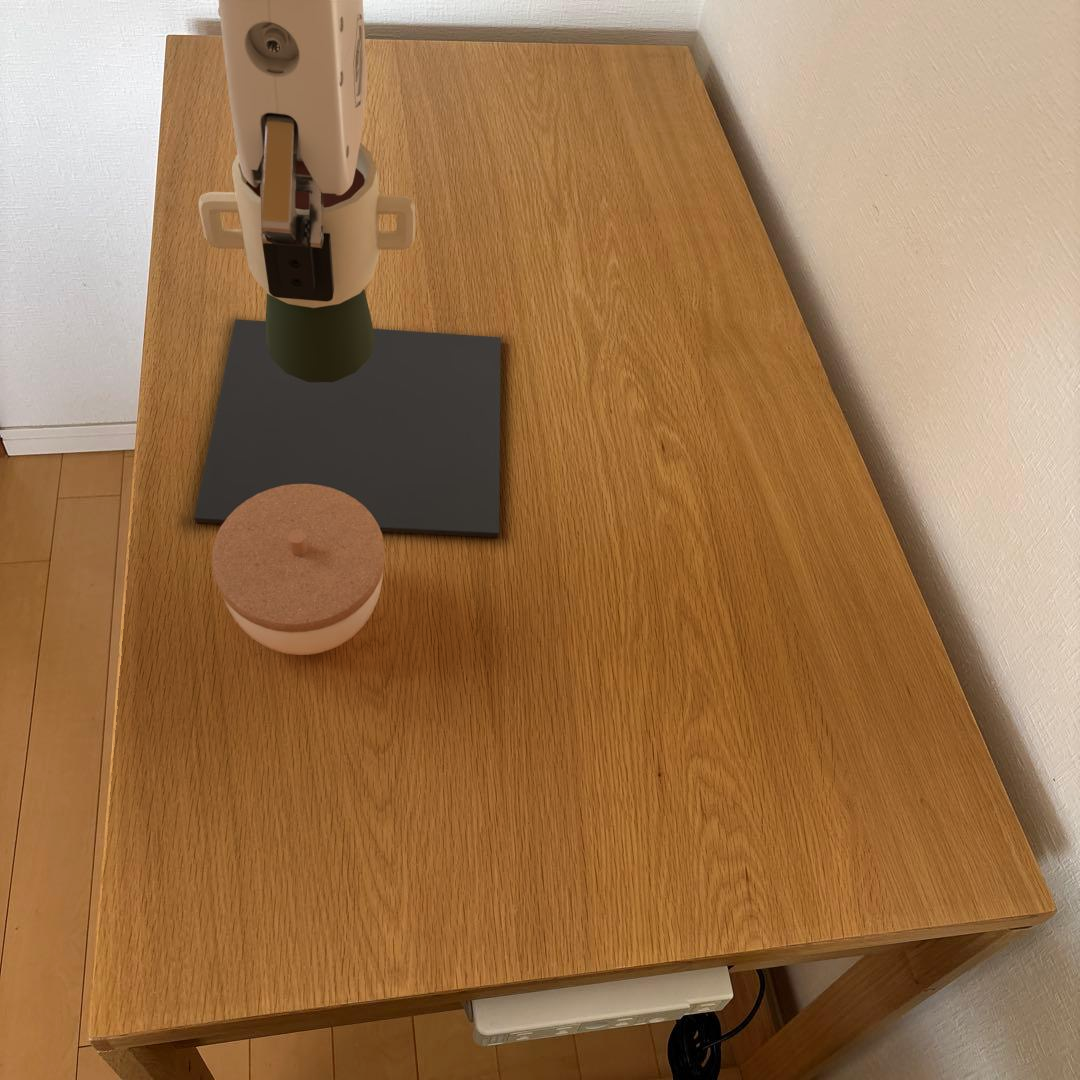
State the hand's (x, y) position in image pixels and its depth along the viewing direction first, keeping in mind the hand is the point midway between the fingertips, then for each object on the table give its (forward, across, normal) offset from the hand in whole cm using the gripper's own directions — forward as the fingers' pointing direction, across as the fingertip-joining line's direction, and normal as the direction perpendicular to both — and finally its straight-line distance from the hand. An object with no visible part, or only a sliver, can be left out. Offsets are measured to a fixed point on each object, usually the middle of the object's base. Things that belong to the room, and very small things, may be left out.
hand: (311, 241), depth 55 cm
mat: (+26, +9, -1) cm, 27 cm away
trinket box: (+26, -8, +1) cm, 27 cm away
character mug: (+8, 0, 0) cm, 8 cm away
